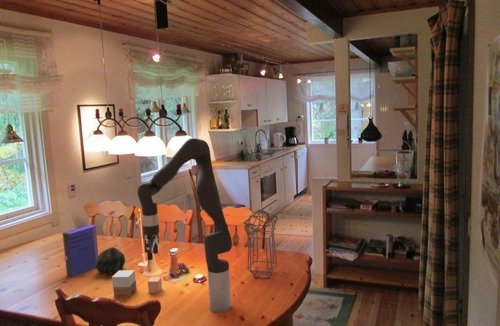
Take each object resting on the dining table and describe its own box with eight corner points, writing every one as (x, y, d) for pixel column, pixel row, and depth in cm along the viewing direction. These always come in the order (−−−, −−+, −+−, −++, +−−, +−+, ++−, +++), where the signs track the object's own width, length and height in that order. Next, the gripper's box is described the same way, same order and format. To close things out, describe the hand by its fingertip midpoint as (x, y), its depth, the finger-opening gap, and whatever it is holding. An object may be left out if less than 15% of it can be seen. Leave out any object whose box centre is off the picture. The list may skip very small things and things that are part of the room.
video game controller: (185, 273, 222) (180, 261, 223) (190, 271, 219) (185, 259, 220) (171, 279, 214) (166, 267, 215) (176, 277, 211) (171, 264, 213)
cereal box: (93, 265, 236) (90, 224, 233) (99, 266, 234) (95, 225, 231) (66, 275, 222) (62, 232, 219) (72, 277, 219) (68, 233, 216)
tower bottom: (130, 297, 192) (129, 287, 192) (114, 297, 193) (113, 287, 192) (136, 290, 200) (135, 280, 199) (120, 290, 201) (119, 280, 200)
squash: (96, 258, 230) (95, 244, 220) (124, 255, 236) (124, 241, 225) (97, 282, 222) (96, 268, 211) (125, 278, 227) (126, 264, 216)
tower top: (129, 287, 192) (128, 276, 191) (112, 287, 192) (111, 277, 192) (135, 280, 200) (134, 270, 199) (119, 280, 200) (118, 270, 200)
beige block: (159, 293, 195) (158, 281, 194) (148, 293, 195) (147, 281, 194) (162, 289, 200) (161, 277, 199) (151, 289, 200) (151, 277, 199)
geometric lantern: (280, 270, 217) (278, 206, 211) (273, 283, 202) (271, 214, 196) (251, 268, 221) (249, 205, 216) (243, 280, 206) (240, 213, 201)
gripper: (153, 227, 186) (156, 262, 188) (162, 219, 200) (164, 251, 202) (137, 227, 187) (140, 262, 189) (147, 219, 201) (150, 251, 203)
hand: (153, 256), depth 195 cm, fingers open, 8 cm apart
